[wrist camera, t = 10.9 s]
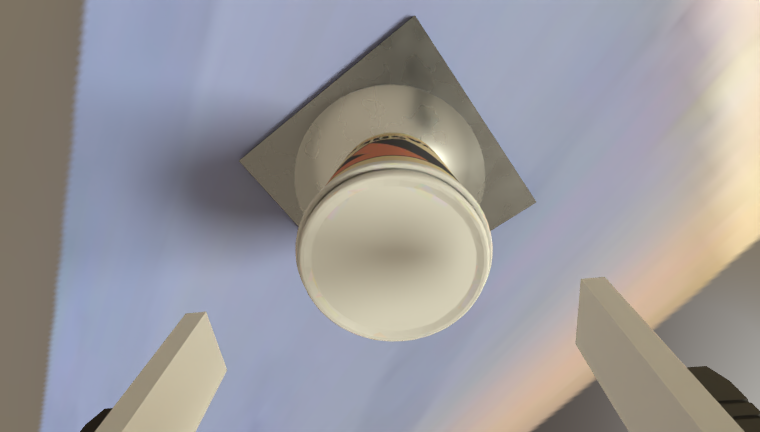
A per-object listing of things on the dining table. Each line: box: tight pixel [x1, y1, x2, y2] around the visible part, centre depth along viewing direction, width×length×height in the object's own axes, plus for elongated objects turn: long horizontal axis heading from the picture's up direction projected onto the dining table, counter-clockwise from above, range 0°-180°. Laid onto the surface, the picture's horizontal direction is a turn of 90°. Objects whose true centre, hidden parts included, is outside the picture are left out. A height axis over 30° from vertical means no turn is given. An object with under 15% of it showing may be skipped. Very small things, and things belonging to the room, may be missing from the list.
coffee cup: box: [296, 133, 492, 341], centre depth 24 cm, size 9×9×12 cm
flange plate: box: [239, 16, 536, 231], centre depth 30 cm, size 16×16×1 cm
